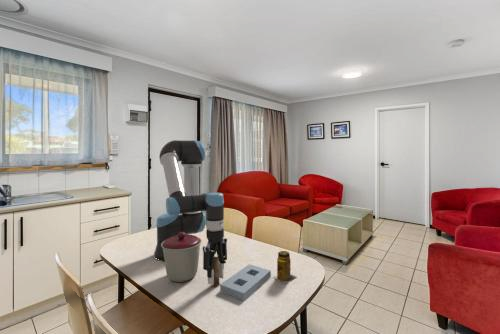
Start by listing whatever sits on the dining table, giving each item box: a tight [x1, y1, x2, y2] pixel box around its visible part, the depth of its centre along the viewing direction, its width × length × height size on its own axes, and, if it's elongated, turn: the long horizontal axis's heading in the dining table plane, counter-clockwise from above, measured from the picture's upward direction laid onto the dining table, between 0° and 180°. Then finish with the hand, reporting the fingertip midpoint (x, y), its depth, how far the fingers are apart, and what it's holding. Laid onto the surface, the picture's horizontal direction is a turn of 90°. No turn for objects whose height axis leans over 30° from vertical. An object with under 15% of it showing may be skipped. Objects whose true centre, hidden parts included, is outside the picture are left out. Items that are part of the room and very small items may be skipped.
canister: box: [161, 232, 202, 283], centre depth 114 cm, size 18×18×21 cm
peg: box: [212, 256, 220, 287], centre depth 107 cm, size 3×3×12 cm
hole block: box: [219, 264, 272, 302], centre depth 108 cm, size 12×22×3 cm, turn 147°
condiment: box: [273, 250, 297, 285], centre depth 113 cm, size 7×8×12 cm
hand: (215, 280), depth 108 cm, fingers open, 6 cm apart
